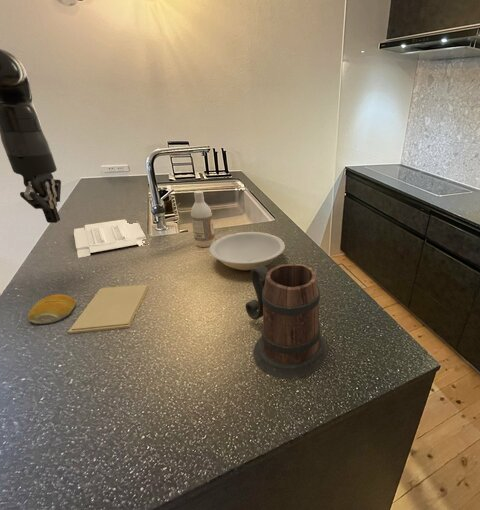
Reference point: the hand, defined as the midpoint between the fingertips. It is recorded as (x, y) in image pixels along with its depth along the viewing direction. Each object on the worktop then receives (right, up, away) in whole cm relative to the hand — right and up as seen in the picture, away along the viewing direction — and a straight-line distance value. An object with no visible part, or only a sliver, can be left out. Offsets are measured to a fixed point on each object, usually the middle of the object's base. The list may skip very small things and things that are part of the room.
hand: (54, 221), depth 78 cm
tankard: (+59, -29, -5) cm, 66 cm away
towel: (+15, -22, +1) cm, 27 cm away
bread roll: (+3, -23, -3) cm, 23 cm away
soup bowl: (+42, -11, +27) cm, 51 cm away
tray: (-13, -2, +37) cm, 39 cm away
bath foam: (+22, -4, +37) cm, 44 cm away
